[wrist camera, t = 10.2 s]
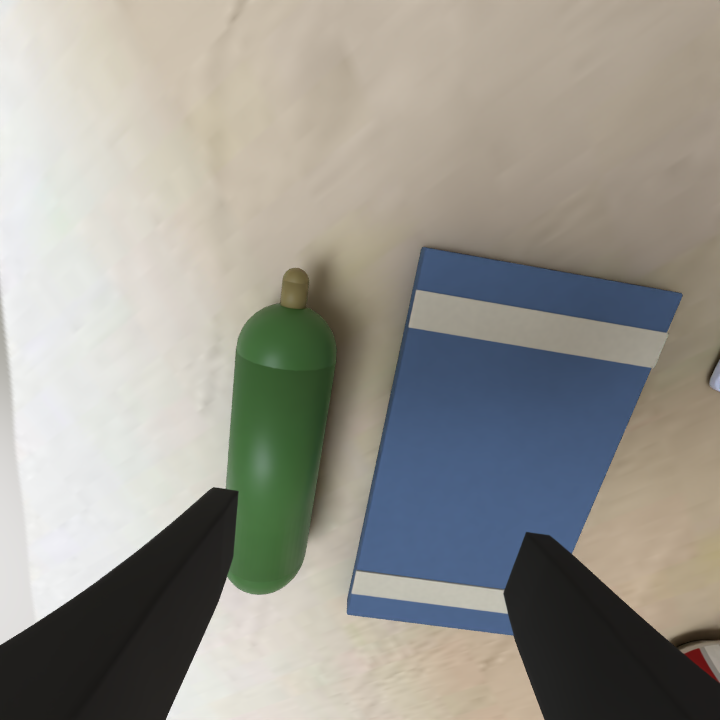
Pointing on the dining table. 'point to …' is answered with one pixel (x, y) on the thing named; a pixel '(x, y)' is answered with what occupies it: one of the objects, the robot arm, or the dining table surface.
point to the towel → (497, 430)
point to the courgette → (278, 435)
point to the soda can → (704, 655)
